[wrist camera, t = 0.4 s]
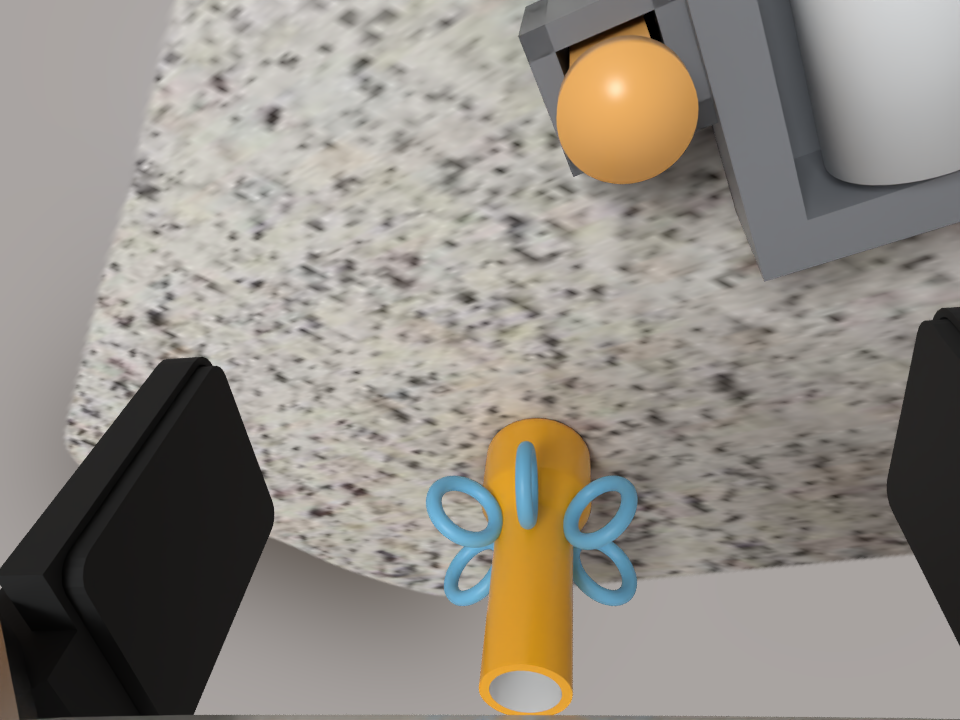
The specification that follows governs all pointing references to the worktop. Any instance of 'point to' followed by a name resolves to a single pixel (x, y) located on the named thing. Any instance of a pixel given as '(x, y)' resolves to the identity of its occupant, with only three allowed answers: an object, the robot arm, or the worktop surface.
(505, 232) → the worktop surface
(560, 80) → the housing
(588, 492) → the ringed yellow tube
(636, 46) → the plunger
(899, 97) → the cartridge
